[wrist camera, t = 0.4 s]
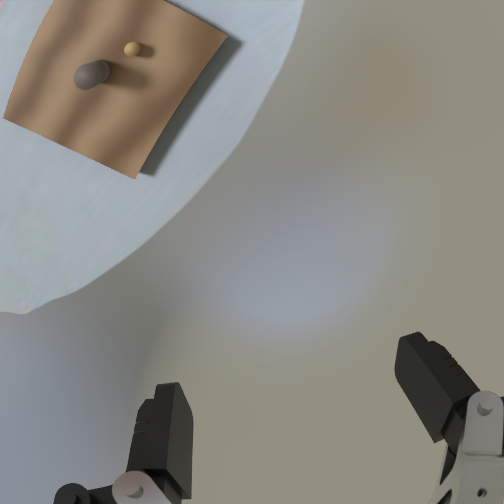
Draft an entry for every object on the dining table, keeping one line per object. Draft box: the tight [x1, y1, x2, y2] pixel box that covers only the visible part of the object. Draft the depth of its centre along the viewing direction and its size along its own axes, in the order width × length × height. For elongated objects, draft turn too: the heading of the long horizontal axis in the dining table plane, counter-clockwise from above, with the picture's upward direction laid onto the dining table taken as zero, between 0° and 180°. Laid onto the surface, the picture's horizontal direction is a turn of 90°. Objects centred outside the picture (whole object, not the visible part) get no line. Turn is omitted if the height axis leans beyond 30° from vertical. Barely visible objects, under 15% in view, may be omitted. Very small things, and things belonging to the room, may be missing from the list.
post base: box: [3, 0, 228, 179], centre depth 23 cm, size 18×18×6 cm
